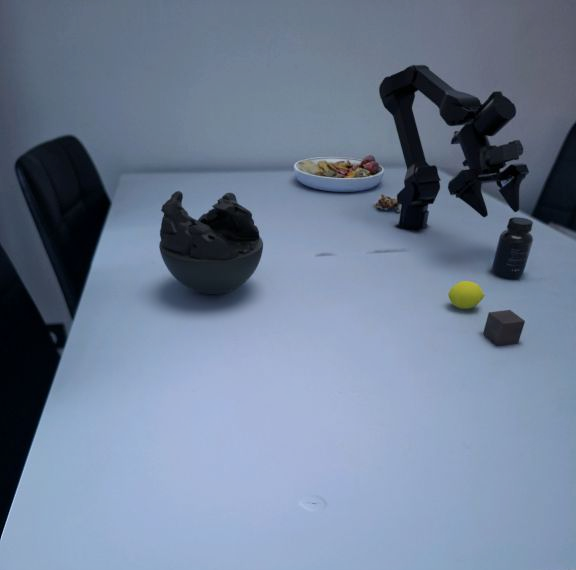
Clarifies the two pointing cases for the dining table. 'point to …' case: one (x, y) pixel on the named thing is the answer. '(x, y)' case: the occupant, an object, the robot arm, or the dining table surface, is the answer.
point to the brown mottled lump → (387, 203)
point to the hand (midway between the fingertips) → (501, 213)
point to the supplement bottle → (513, 249)
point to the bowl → (339, 173)
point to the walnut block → (503, 327)
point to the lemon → (465, 294)
